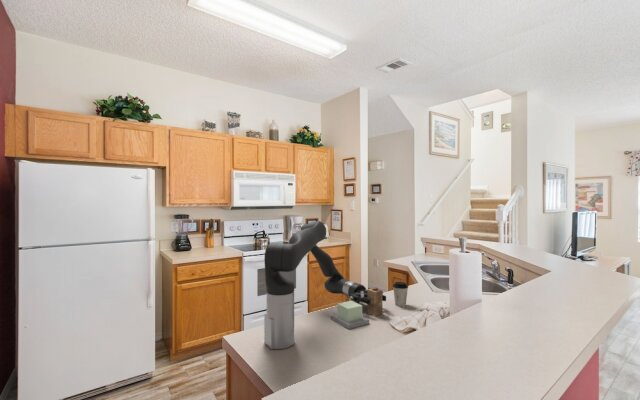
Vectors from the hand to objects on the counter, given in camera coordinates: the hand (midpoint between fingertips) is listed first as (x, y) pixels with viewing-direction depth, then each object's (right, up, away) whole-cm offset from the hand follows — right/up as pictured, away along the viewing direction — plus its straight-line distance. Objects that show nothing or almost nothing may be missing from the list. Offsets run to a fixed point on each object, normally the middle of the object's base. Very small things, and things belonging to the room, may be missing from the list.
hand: (377, 300), depth 127 cm
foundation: (-12, -6, -6) cm, 15 cm away
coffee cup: (+13, -6, +12) cm, 19 cm away
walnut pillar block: (-1, -6, +2) cm, 6 cm away
